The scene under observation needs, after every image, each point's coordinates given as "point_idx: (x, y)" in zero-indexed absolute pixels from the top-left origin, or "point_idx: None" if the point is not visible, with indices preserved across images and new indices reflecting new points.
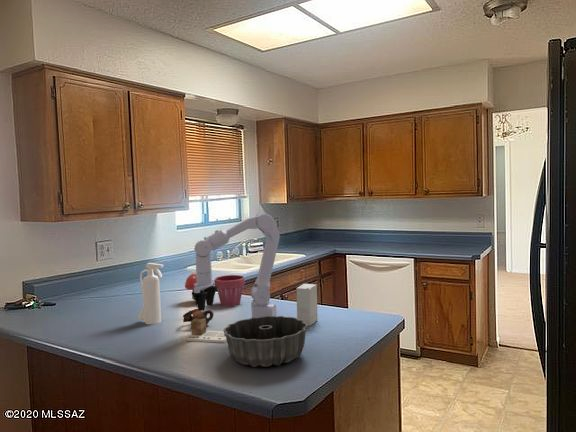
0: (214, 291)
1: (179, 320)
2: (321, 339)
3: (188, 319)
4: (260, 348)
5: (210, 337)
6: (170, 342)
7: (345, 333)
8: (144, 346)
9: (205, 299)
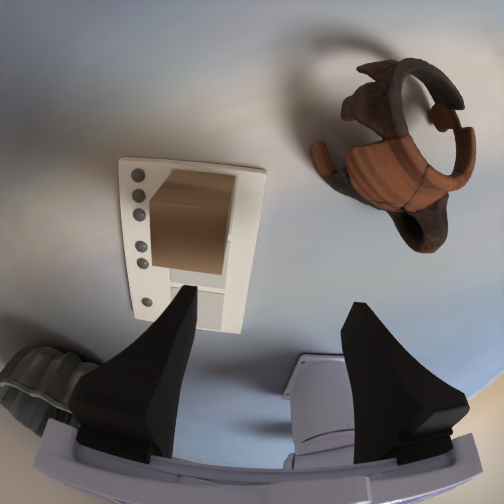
0: (356, 439)
1: (485, 33)
2: (210, 441)
3: (430, 87)
4: (17, 403)
5: (153, 268)
6: (94, 93)
7: (248, 455)
8: (46, 14)
9: (176, 400)
